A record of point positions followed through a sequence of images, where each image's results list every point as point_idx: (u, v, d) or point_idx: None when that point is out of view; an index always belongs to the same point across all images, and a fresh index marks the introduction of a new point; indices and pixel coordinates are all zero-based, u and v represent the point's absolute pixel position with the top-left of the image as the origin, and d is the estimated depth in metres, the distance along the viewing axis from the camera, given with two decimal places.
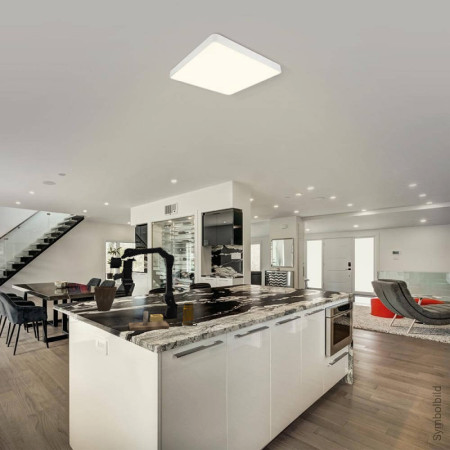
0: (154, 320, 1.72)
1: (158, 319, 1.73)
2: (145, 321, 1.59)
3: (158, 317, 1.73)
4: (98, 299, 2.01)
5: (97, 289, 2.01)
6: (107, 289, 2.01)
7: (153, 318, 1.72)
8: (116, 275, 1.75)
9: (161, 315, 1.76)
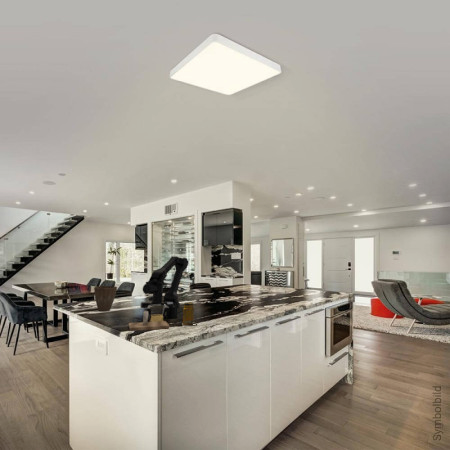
0: (154, 320, 1.72)
1: (158, 319, 1.73)
2: (145, 321, 1.59)
3: (158, 317, 1.73)
4: (98, 299, 2.01)
5: (97, 289, 2.01)
6: (107, 289, 2.01)
7: (153, 318, 1.72)
8: None
9: (161, 315, 1.76)
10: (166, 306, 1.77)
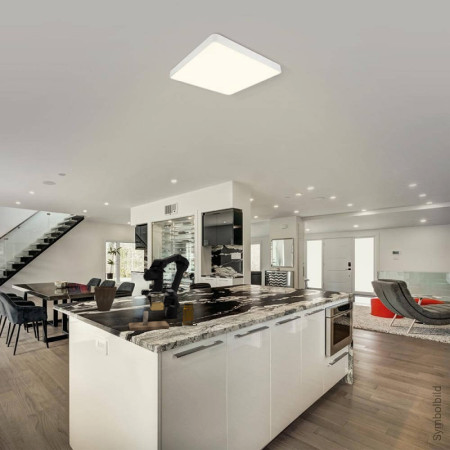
0: (155, 307, 1.72)
1: (158, 306, 1.73)
2: (145, 321, 1.59)
3: (159, 304, 1.73)
4: (98, 299, 2.01)
5: (97, 289, 2.01)
6: (107, 289, 2.01)
7: (154, 305, 1.72)
8: (149, 285, 1.82)
9: (161, 303, 1.77)
10: (166, 294, 1.77)
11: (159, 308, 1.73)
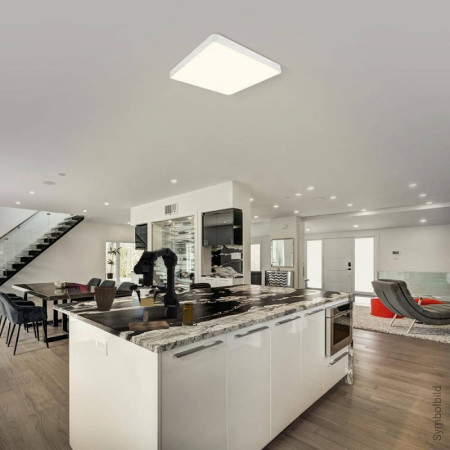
0: (144, 303, 1.57)
1: (148, 302, 1.58)
2: (145, 321, 1.59)
3: (148, 300, 1.58)
4: (98, 299, 2.01)
5: (97, 289, 2.01)
6: (107, 289, 2.01)
7: (143, 301, 1.57)
8: None
9: None
10: (157, 289, 1.63)
11: (149, 304, 1.58)
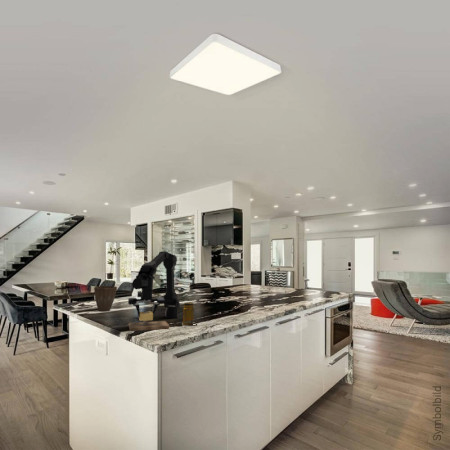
0: (143, 318, 1.56)
1: (147, 316, 1.57)
2: (145, 321, 1.59)
3: (147, 314, 1.57)
4: (98, 299, 2.01)
5: (97, 289, 2.01)
6: (107, 289, 2.01)
7: (142, 315, 1.56)
8: None
9: (151, 312, 1.61)
10: (156, 302, 1.61)
11: (148, 318, 1.57)
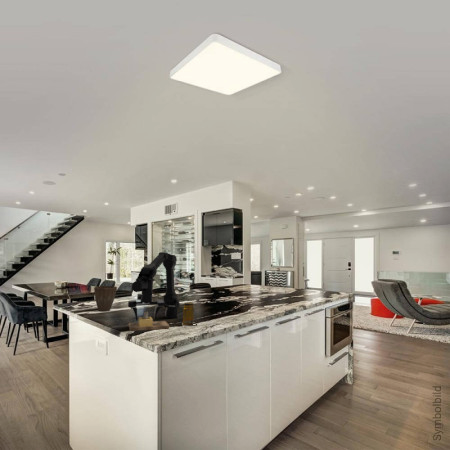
0: (143, 323, 1.56)
1: (147, 322, 1.57)
2: None
3: (147, 320, 1.57)
4: (98, 299, 2.01)
5: (97, 289, 2.01)
6: (107, 289, 2.01)
7: (142, 321, 1.56)
8: (137, 296, 1.65)
9: (151, 318, 1.60)
10: None
11: (148, 324, 1.57)
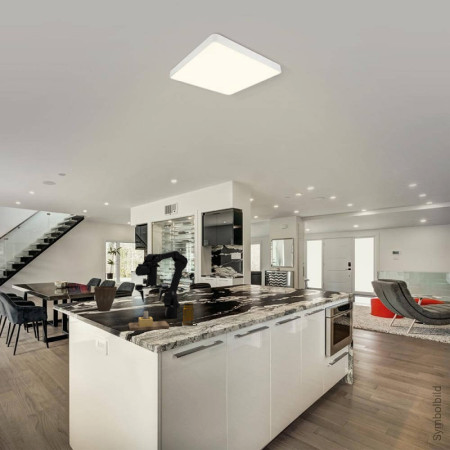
0: (143, 323, 1.56)
1: (147, 322, 1.57)
2: None
3: (147, 320, 1.57)
4: (98, 299, 2.01)
5: (97, 289, 2.01)
6: (107, 289, 2.01)
7: (142, 321, 1.56)
8: (143, 280, 1.80)
9: (151, 318, 1.60)
10: None
11: (148, 324, 1.57)
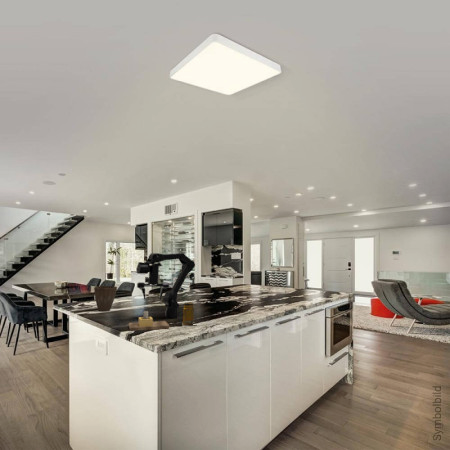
0: (143, 323, 1.56)
1: (147, 322, 1.57)
2: None
3: (147, 320, 1.57)
4: (98, 299, 2.01)
5: (97, 289, 2.01)
6: (107, 289, 2.01)
7: (142, 321, 1.56)
8: (145, 279, 1.87)
9: (151, 318, 1.60)
10: None
11: (148, 324, 1.57)
